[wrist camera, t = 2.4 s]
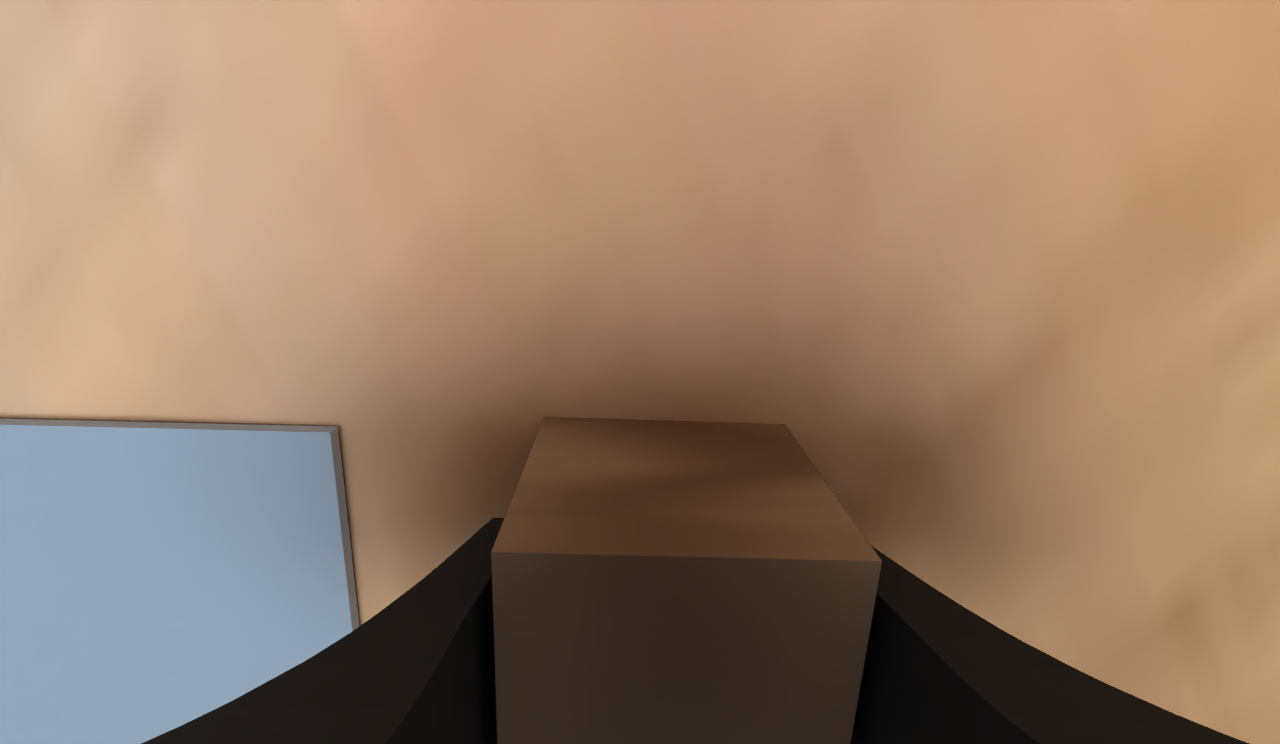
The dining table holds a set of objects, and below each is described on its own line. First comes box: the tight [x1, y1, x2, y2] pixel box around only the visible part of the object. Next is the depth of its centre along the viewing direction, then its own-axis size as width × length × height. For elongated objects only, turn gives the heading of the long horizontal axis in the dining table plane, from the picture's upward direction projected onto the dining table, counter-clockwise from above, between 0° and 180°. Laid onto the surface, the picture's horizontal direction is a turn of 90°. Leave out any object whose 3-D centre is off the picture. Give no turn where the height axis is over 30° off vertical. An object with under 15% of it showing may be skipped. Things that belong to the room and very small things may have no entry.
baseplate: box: [0, 418, 360, 744], centre depth 12 cm, size 10×10×1 cm
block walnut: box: [491, 417, 882, 744], centre depth 10 cm, size 4×4×4 cm
